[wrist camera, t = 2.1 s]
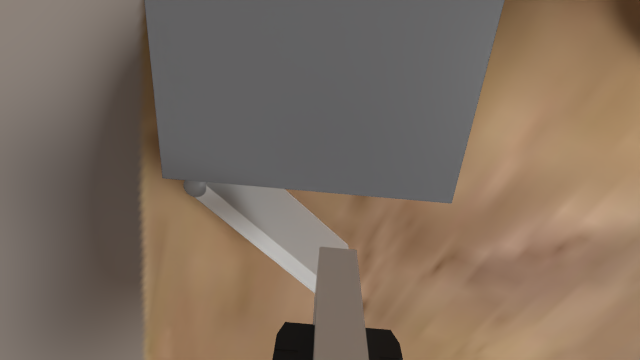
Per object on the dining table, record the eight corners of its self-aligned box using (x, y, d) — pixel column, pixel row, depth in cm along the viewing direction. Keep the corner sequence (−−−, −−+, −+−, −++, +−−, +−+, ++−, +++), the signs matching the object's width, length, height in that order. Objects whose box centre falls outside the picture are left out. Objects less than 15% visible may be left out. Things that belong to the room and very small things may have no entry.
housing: (411, 146, 25) (451, 203, 17) (217, 129, 25) (162, 178, 17) (449, -49, 20) (531, -102, 12) (211, -71, 20) (130, -141, 12)
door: (334, 256, 28) (335, 318, 22) (212, 151, 25) (174, 191, 19) (348, 244, 27) (354, 304, 21) (226, 136, 24) (192, 172, 18)
